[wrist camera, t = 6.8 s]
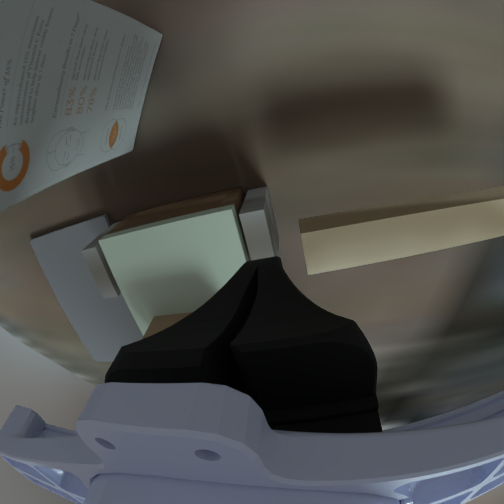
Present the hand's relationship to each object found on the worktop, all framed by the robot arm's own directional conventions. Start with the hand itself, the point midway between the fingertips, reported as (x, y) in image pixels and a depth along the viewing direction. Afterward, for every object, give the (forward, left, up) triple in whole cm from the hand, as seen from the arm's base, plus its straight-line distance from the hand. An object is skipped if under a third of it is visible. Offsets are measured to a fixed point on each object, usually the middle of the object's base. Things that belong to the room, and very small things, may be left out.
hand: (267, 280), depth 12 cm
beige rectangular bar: (0, -8, -3) cm, 8 cm away
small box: (+11, +8, -8) cm, 16 cm away
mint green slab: (-4, +5, -4) cm, 8 cm away
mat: (-4, +16, -8) cm, 18 cm away
